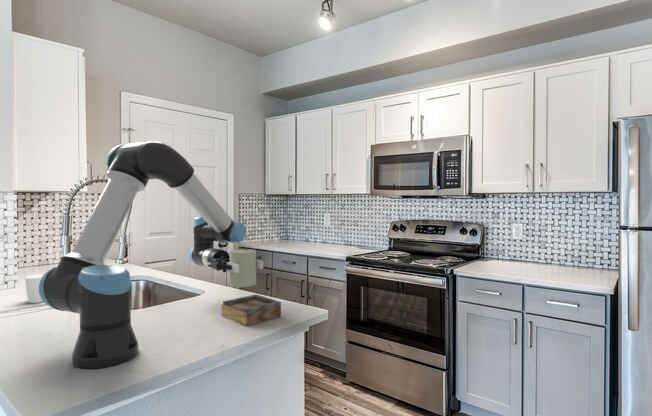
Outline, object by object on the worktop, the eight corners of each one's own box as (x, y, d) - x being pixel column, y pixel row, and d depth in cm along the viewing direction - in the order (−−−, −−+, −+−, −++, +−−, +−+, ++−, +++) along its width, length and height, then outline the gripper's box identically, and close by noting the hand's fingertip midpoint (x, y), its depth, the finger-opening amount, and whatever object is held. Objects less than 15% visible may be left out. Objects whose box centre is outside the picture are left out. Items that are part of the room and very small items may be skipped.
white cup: (28, 299, 158) (28, 275, 158) (52, 297, 162) (51, 273, 161) (23, 304, 151) (23, 278, 151) (48, 302, 155) (47, 277, 154)
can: (259, 281, 139) (259, 247, 139) (252, 287, 130) (252, 251, 129) (234, 280, 140) (234, 247, 139) (225, 287, 131) (225, 251, 130)
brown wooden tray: (245, 326, 127) (245, 310, 127) (221, 316, 137) (221, 301, 137) (280, 316, 137) (280, 302, 137) (256, 308, 148) (256, 294, 148)
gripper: (241, 265, 155) (276, 273, 139) (189, 272, 140) (222, 283, 124) (240, 246, 155) (276, 252, 139) (189, 252, 139) (221, 259, 124)
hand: (250, 266), depth 131 cm, fingers closed on can, 9 cm apart
